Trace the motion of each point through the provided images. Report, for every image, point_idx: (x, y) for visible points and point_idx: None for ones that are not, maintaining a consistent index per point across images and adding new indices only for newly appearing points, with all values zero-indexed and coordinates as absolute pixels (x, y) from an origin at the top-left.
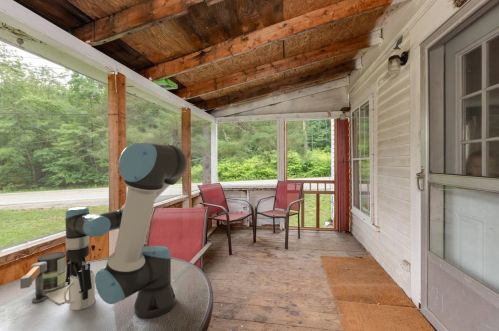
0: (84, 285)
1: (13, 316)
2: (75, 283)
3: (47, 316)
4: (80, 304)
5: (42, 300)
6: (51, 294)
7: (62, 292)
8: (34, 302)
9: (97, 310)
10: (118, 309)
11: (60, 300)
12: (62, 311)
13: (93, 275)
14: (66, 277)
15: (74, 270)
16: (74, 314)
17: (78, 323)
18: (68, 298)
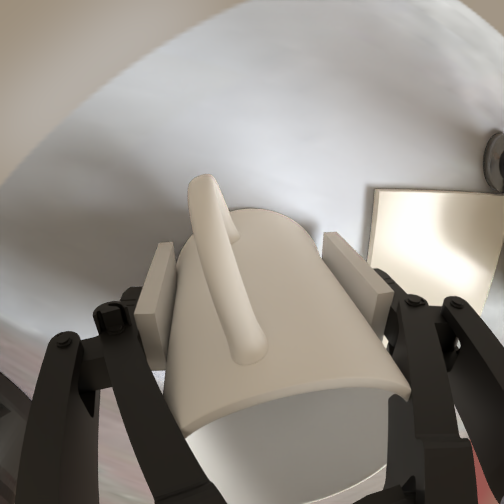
0: (38, 379)
1: (455, 24)
2: (212, 357)
3: (296, 87)
4: (155, 256)
5: (486, 163)
6: (495, 214)
7: (469, 254)
8: (497, 135)
9: (90, 296)
10: (33, 347)
11: (408, 212)
12: (272, 165)
13: None
14: (475, 327)
15: (358, 500)
16: (154, 198)
17: (35, 181)
18: (387, 249)
